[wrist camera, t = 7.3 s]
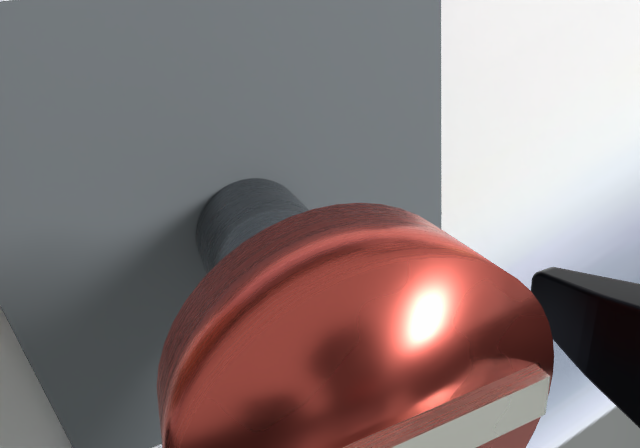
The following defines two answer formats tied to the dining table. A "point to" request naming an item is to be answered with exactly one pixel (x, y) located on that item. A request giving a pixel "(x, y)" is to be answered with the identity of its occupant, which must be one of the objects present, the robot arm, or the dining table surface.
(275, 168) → the mat
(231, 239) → the no entry disc
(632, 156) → the dining table surface
